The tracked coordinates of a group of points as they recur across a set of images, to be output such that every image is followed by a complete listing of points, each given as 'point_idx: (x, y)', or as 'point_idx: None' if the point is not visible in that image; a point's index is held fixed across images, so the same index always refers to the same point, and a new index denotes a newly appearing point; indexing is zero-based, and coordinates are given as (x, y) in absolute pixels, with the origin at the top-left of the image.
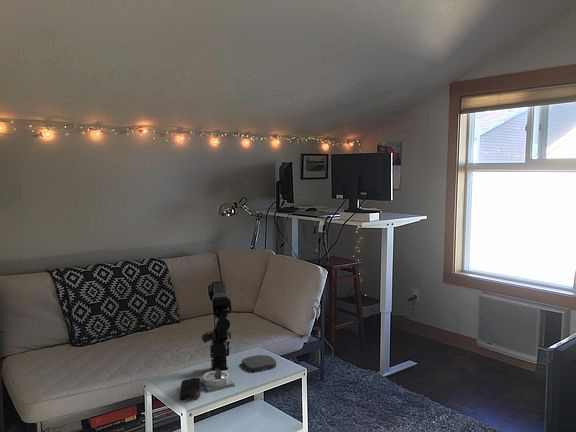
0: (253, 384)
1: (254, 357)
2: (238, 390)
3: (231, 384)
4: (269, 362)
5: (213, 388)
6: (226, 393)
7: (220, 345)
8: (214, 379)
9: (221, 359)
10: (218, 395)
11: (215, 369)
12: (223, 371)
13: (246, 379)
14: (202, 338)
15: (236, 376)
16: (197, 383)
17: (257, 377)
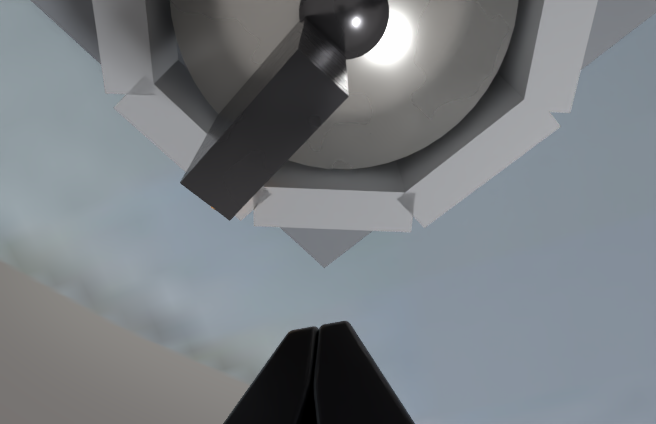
0: (405, 405)
1: None
2: (222, 322)
3: (297, 238)
4: None
5: (93, 55)
6: (102, 232)
7: None
8: (194, 39)
9: (283, 355)
10: (12, 165)
11: (291, 51)
12: (564, 69)
13: (535, 312)
14: None
15: (635, 175)
16: None
17: (596, 393)
